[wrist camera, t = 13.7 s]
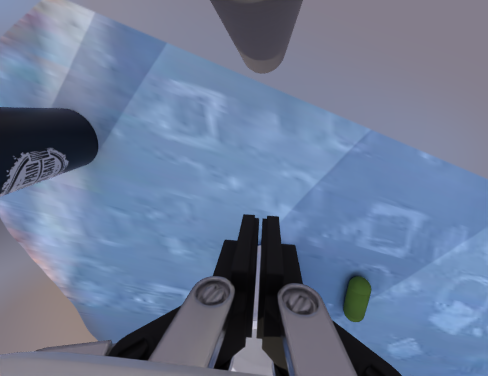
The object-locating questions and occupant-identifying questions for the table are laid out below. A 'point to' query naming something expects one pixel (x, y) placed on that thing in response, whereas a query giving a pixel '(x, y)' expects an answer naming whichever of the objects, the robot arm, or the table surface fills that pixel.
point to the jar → (253, 342)
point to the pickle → (357, 299)
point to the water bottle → (42, 145)
